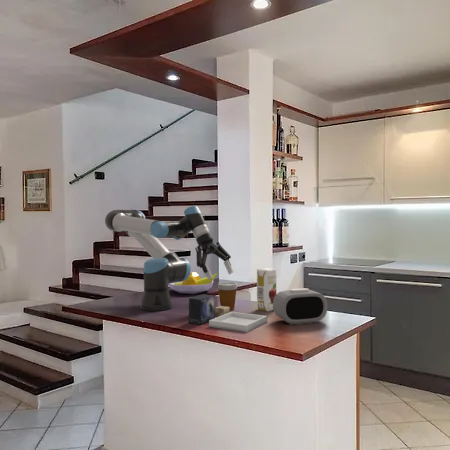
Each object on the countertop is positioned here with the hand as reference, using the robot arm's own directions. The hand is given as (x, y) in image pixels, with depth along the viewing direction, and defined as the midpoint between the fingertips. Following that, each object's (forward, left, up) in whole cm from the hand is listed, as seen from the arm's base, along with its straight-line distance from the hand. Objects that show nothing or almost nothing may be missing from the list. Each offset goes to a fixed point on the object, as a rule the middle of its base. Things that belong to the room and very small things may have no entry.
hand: (221, 275), depth 205 cm
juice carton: (+18, +12, -16) cm, 27 cm away
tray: (+20, -19, -16) cm, 32 cm away
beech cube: (+8, -12, -16) cm, 21 cm away
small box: (+4, -22, -16) cm, 27 cm away
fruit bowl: (-40, +33, -16) cm, 54 cm away
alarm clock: (+40, -2, -16) cm, 43 cm away
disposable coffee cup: (+2, +3, -16) cm, 17 cm away
